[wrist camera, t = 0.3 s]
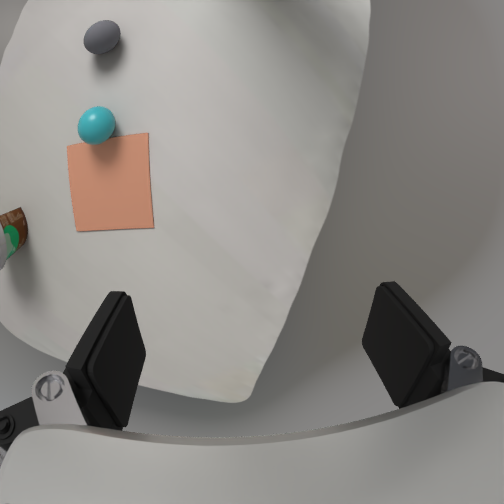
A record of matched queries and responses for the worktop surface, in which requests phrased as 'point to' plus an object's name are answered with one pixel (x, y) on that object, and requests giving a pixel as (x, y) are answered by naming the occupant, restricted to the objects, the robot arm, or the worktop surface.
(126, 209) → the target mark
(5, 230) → the food container
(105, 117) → the object ball
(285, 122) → the worktop surface
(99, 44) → the grey ball
